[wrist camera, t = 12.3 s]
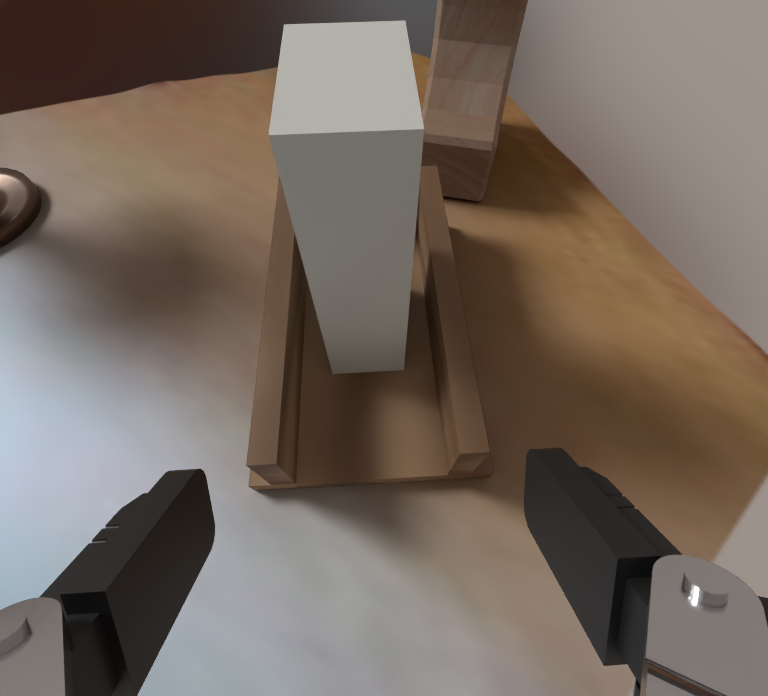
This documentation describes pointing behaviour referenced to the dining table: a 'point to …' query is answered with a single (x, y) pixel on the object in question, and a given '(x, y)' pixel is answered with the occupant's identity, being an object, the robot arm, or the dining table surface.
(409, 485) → the dining table surface
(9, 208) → the candlestick
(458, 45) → the decorative block
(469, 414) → the tray
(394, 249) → the white rectangular block
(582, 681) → the dining table surface
